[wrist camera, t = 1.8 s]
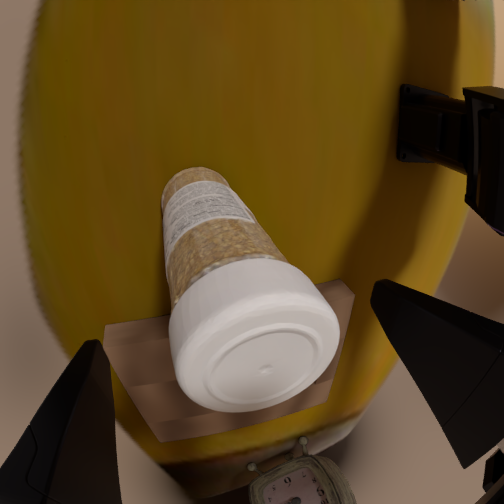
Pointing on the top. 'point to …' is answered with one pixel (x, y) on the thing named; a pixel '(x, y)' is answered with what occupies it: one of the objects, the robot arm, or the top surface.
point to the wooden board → (172, 396)
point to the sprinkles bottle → (237, 302)
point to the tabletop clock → (301, 482)
